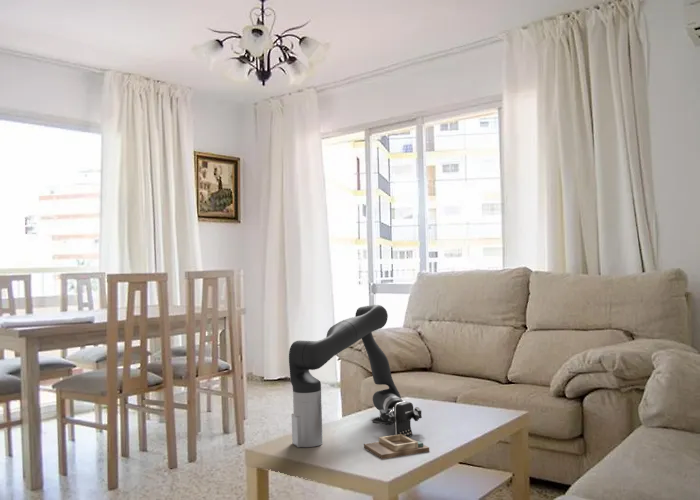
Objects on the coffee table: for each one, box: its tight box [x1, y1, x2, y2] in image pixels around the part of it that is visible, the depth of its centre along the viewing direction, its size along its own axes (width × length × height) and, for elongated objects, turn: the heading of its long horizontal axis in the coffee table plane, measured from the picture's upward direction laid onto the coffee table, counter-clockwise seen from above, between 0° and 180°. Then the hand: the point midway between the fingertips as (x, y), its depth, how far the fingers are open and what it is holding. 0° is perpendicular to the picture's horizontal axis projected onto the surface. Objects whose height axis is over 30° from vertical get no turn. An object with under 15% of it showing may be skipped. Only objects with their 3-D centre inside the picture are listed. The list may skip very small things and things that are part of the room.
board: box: [363, 434, 430, 460], centre depth 193 cm, size 16×13×3 cm
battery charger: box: [393, 400, 414, 438], centre depth 208 cm, size 7×4×11 cm, turn 135°
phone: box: [371, 416, 394, 426], centre depth 232 cm, size 8×1×15 cm
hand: (405, 418), depth 206 cm, fingers closed on battery charger, 7 cm apart
